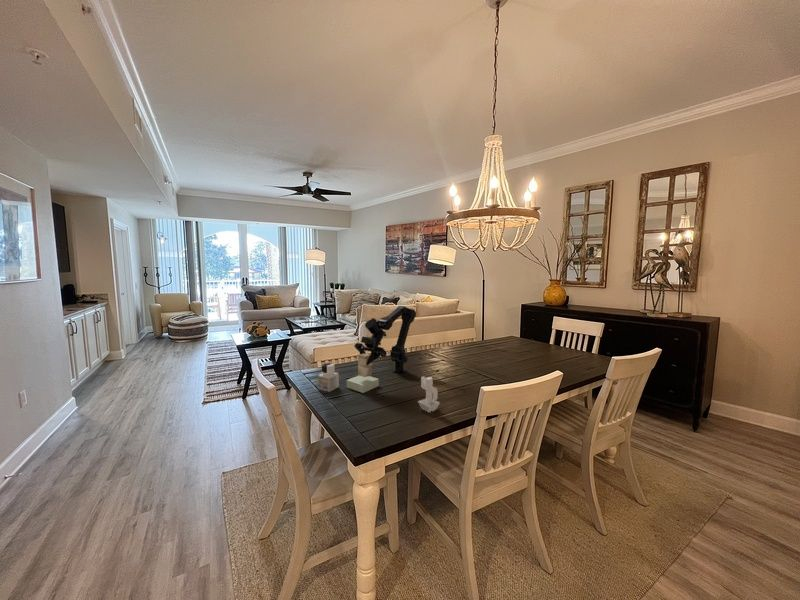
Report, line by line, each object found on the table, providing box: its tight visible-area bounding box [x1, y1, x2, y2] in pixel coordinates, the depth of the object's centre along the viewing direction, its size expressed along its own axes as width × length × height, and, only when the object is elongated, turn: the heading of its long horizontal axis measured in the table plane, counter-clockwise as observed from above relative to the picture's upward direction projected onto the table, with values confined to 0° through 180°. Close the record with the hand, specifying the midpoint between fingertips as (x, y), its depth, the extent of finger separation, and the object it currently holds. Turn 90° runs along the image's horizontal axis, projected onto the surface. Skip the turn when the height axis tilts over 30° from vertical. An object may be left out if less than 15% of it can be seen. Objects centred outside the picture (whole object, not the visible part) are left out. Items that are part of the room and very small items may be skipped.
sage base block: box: [346, 375, 380, 394], centre depth 177 cm, size 12×12×4 cm
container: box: [317, 362, 340, 393], centre depth 175 cm, size 8×8×13 cm
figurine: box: [417, 376, 441, 414], centre depth 150 cm, size 7×9×15 cm
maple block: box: [357, 352, 373, 377], centre depth 175 cm, size 5×5×11 cm
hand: (363, 363), depth 174 cm, fingers closed on maple block, 5 cm apart
